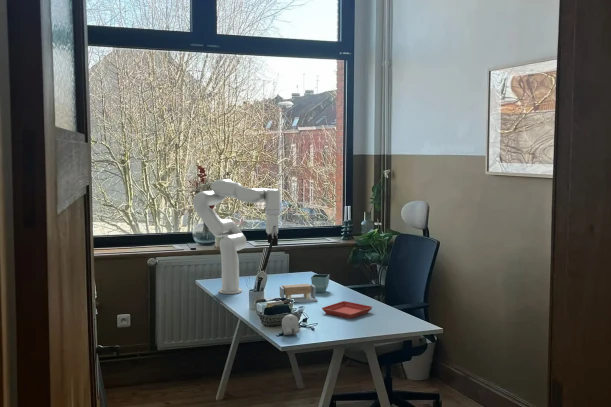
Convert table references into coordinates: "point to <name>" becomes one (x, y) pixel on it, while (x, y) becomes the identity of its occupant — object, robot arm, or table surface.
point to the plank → (297, 289)
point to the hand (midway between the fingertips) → (272, 244)
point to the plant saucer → (347, 309)
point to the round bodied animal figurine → (290, 325)
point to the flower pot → (320, 282)
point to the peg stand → (300, 298)
